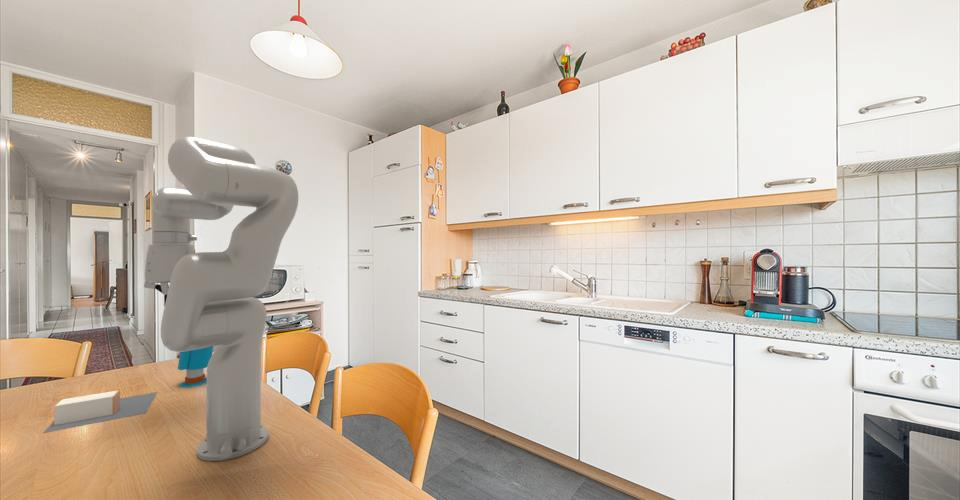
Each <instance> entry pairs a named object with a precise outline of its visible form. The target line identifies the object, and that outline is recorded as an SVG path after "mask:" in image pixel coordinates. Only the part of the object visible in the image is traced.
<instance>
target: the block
mask: <svg viewBox="0 0 960 500" xmlns="http://www.w3.org/2000/svg"><path fill="white" fill-rule="evenodd" d="M120 396H121V390H120V389H119V390H112V391H107V392H100V393H95V394H94V393H93V394H88V395H87V394H86V395H82V396H75V397H70V398H63V399H61V400H59V402H58V403H56V404H55V405H54V422H53V423H54V425H59V424H64V423H69V422H75V421H80V420H85V419H91V418H96V417H101V416H107V415H112V414H115V413H116V412H117V410H118V409H119V408H120V398H121V397H120Z"/></svg>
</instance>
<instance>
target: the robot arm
mask: <svg viewBox="0 0 960 500" xmlns="http://www.w3.org/2000/svg"><path fill="white" fill-rule="evenodd" d="M167 163H168V168H169V170H170V172H171V173H172V175H173V176H174V178H175V179H176V180H178V182H179V183H180V184H181V185H182V186H183V187H184V188H179V187H173V186H172V187H169V186H165V187H161V188H160V189H158V190H157V191H156V192H155V193H153V194H152V197H151V234H152V235H151V239H152V240H151V244H149V245H148V246H147V252H146V256H145V269H144V279H145V281H144V285H143V287H144V288H145V289H150V290H151V289H153V290H157V291H158V292H160V293H161V294H162V295H163V296H164V297H163V298H164V299H163V300H164V302H163V307H164V309H163V313H162V317H161V323H160V324H161V325H160V337H161V341H162V344H163V346H164V347H165V348H166V349H167V350H169V351H172V352H177V353H180V352H184V351H191V350H196V349H201V348H206V347H211V346H213V347H215V346H217V347H216V349H215V350H214V351H213V352H212V356H211V358H210V360H209V363H208V366H207V367H206V378H207V383H206V438H205V439H203V440H202V441H201V442H200V443H199V444H198V445H197V448H196V456H197V458H199V459H200V460H203V461H207V462H216V461H224V460H225V461H226V460H229V459H235V458H238V457H241V456H243V455H246V454H248V453H251V452H253V451H255V450H257V449H258V448H260V447H261V446H263V444H265V443H266V442H267V440H268V439H269V436H270V431H269V428H267V427H266V426H264V425H262V424H261V422H262V421H261V420H262V419H261V418H262V416H261V415H262V413H261V412H262V411H261V409H262V407H261V406H262V405H261V404H262V403H261V399H262V396H261V395H262V391H261V389H262V388H261V387H262V348H263V347H262V346H263V345H262V344H263V338H264V333H265V332H264V331H265V329H266V324H267V323H266V322H267V308H266V307H265V304H264V303H263V302H262V301H261V300H260V299H258V298H257V296H260V295H262V294H263V293H264V292H265V291H266V290H267V288H268V285H269V284H270V280H271V278H272V274H273V272H274V267H275V264H276V262H277V257H278V255H279V251H280V247H281V243H282V241H283V238H284V237H285V235H286V233H287V231H288V229H289V227H290V225H291V224H292V222H293V221H294V219H295V216H296V214H297V210H298V206H299V190H298V186H297V184H296V181H295V180H294V179H293V178H292V177H291V176H290V175H289V174H287V173H285V172H283V171H281V170H279V169H275V168H272V167H268V166H265V165H259V164H257V163H256V161H255V159H254V157H253V156H252V155H251V154H250V153H249V152H248V151H246V150H244V149H242V148H240V147H238V146H235V145H232V144H227V143H223V142H219V141H214V140H210V139H205V138H200V137H197V136H183V137H180V138H178V139H176V140H175V141H174V142H173V143H172V144H171V146H170V147H169V150H168V153H167ZM234 206H237V207H238V206H239V207H248V208H256V209H255V210H254V211H253V212H252V213H250V214H248V215H246V217H244V218H243V219H242V220H241V221H240V222H239V223H238V224H237V225H236V226H235V227H234V229H233V230H232V232H231V237H230V241H229V245H227V246H228V247H227V248H226V250H224V251H210V252H209V251H207V252H205V251H203V252H201V251H200V252H196V248H195V245H193V244H191V243H192V242H193V241H197V240H198V238H197V235H194V234H191V233H190V232H191V223H190V222H191V220H200V221H201V220H204V221H205V220H206V221H216V220H219V219H220V220H221V219H222V218H224V217H226V216H227V215H229V214H230V213H231V212H232V210H233V208H234ZM159 283H160V284H159Z"/></svg>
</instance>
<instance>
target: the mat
mask: <svg viewBox="0 0 960 500" xmlns="http://www.w3.org/2000/svg"><path fill="white" fill-rule="evenodd" d="M157 394H158V391H157V392H149V393H144V394H138V395H132V396H125V397H122V398H121V397H120V408H119V409H118V410H117V412H116V413H115V414H112V415H107V416H101V417H96V418H91V419H85V420H80V421H75V422H69V423H64V424H59V425H54V422H53V423H51V424H50V425H49V426H48V427H46V429H45V430H44V431H43V432H42V434H45V433H51V432H56V431H60V430H66V429H72V428H77V427H82V426H86V425H92V424H98V423H103V422H108V421H113V420H118V419H119V420H120V419H124V418H130V417H134V416H139V415H145V414H147V412H148V410H149V409H150V406H151V405H152V403H153V401H154V399H155V397H156V396H157Z"/></svg>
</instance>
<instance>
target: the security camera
mask: <svg viewBox="0 0 960 500" xmlns="http://www.w3.org/2000/svg"><path fill="white" fill-rule="evenodd" d="M213 353H214V346H211V347H206V348H201V349H196V350H191V351H184V352H178V354H177V356H176V358H177V359H178V363H177V370H179V371H184V370H185V371H186V373H185V374H186V376H185V378H184V381H183V382H181V383H179V385H178V386H179V388H194V387H198V386H199V387H200V386H202V385H205V384H206V385H207V377H206V374H205V373H204V371H205V369H207V366H208V363H209V360H210V358H211V356H212V355H213Z"/></svg>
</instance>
